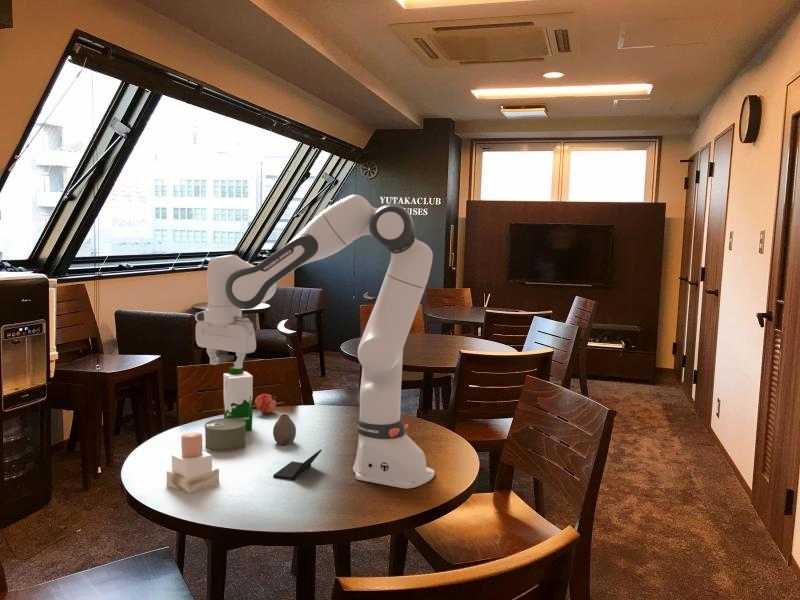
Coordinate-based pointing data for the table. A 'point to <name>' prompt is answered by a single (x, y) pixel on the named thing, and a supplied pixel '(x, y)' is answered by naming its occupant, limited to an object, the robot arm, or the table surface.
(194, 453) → the peach rounded dome
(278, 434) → the vase
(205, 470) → the tower middle
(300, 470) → the handheld gaming console
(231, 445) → the can
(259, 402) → the pomegranate
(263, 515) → the table surface
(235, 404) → the milk carton
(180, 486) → the tower base
